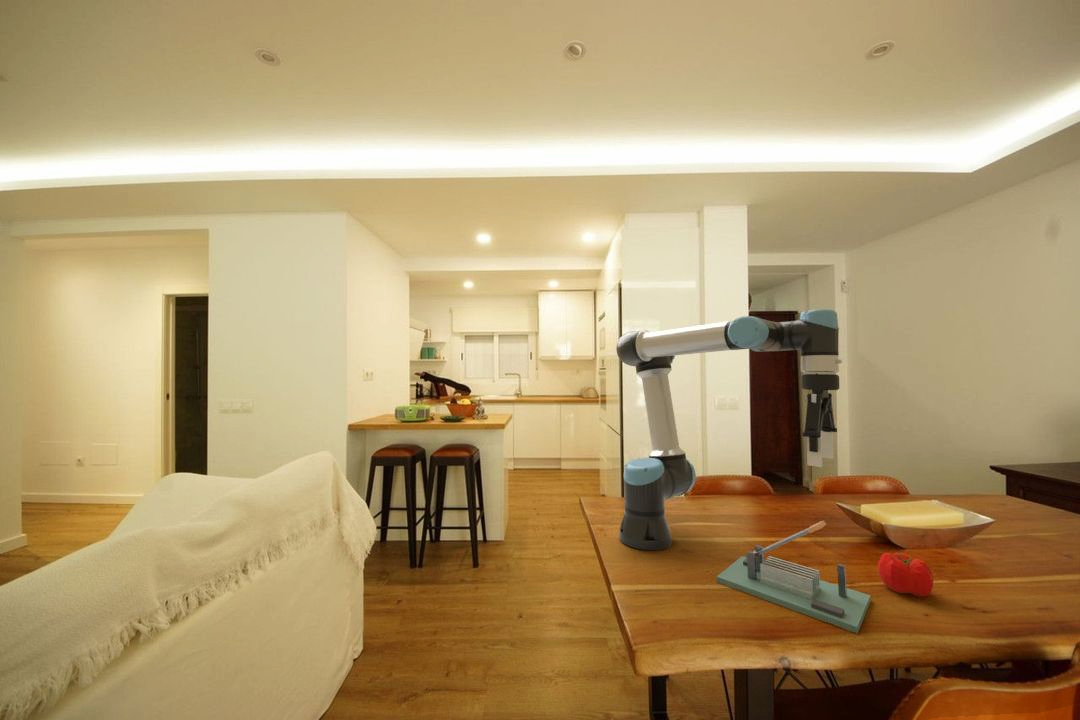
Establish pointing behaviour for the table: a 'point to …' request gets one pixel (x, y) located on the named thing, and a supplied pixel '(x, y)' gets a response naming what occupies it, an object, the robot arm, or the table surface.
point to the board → (821, 607)
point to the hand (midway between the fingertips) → (821, 461)
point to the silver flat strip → (791, 538)
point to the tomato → (905, 574)
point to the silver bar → (790, 575)
